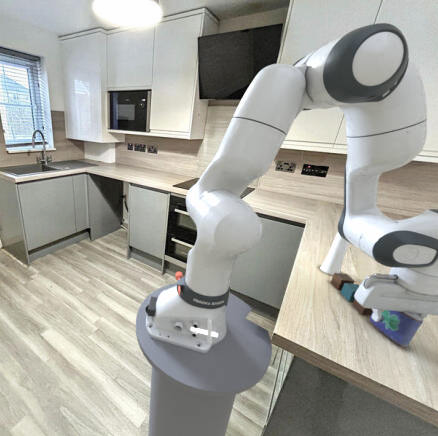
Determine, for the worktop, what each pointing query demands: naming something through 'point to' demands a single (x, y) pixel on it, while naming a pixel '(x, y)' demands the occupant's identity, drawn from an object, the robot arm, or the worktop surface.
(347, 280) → the walnut block far
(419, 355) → the worktop surface
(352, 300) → the teal block
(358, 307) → the walnut block near
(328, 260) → the cosmetic bottle
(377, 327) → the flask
